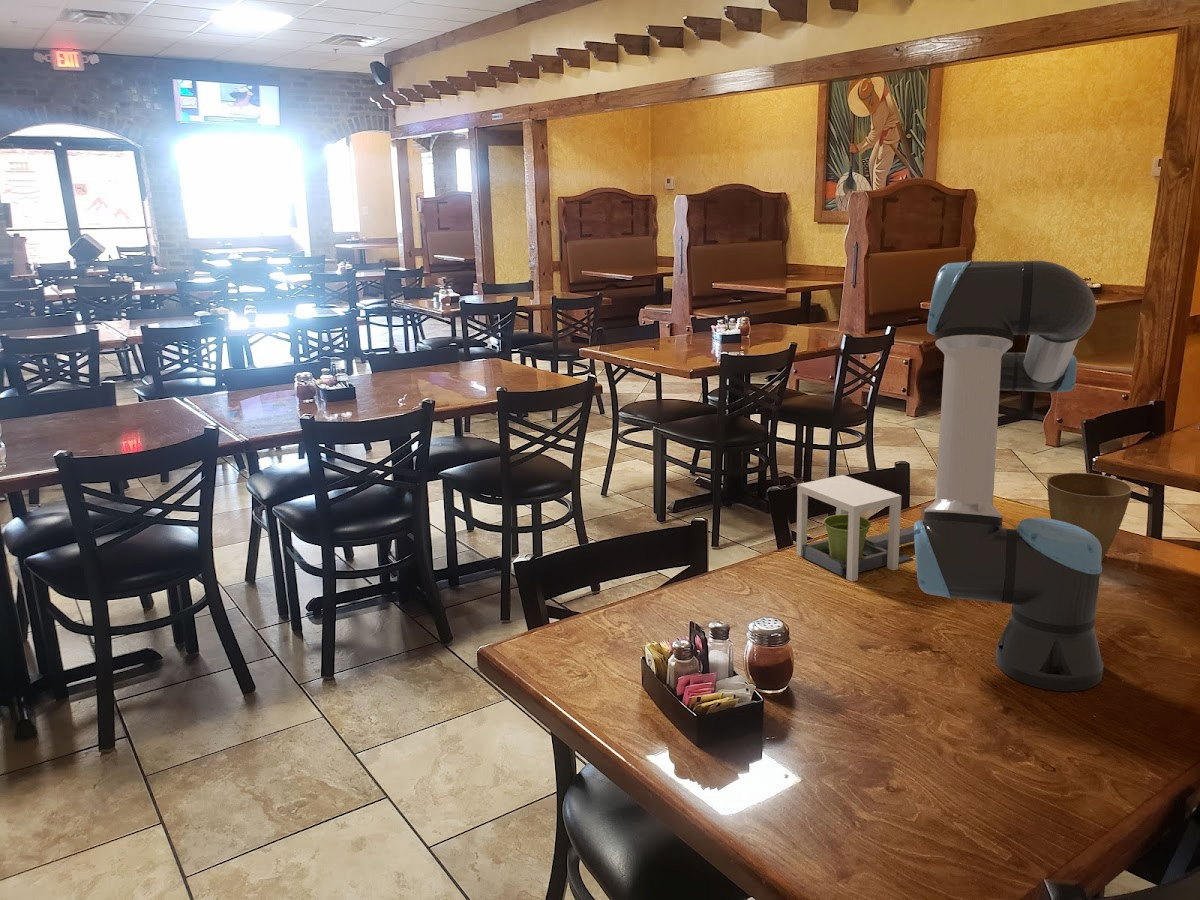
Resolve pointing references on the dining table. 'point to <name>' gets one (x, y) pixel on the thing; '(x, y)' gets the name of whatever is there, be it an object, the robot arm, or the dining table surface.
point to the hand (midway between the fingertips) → (963, 511)
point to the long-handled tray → (872, 549)
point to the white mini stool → (851, 514)
